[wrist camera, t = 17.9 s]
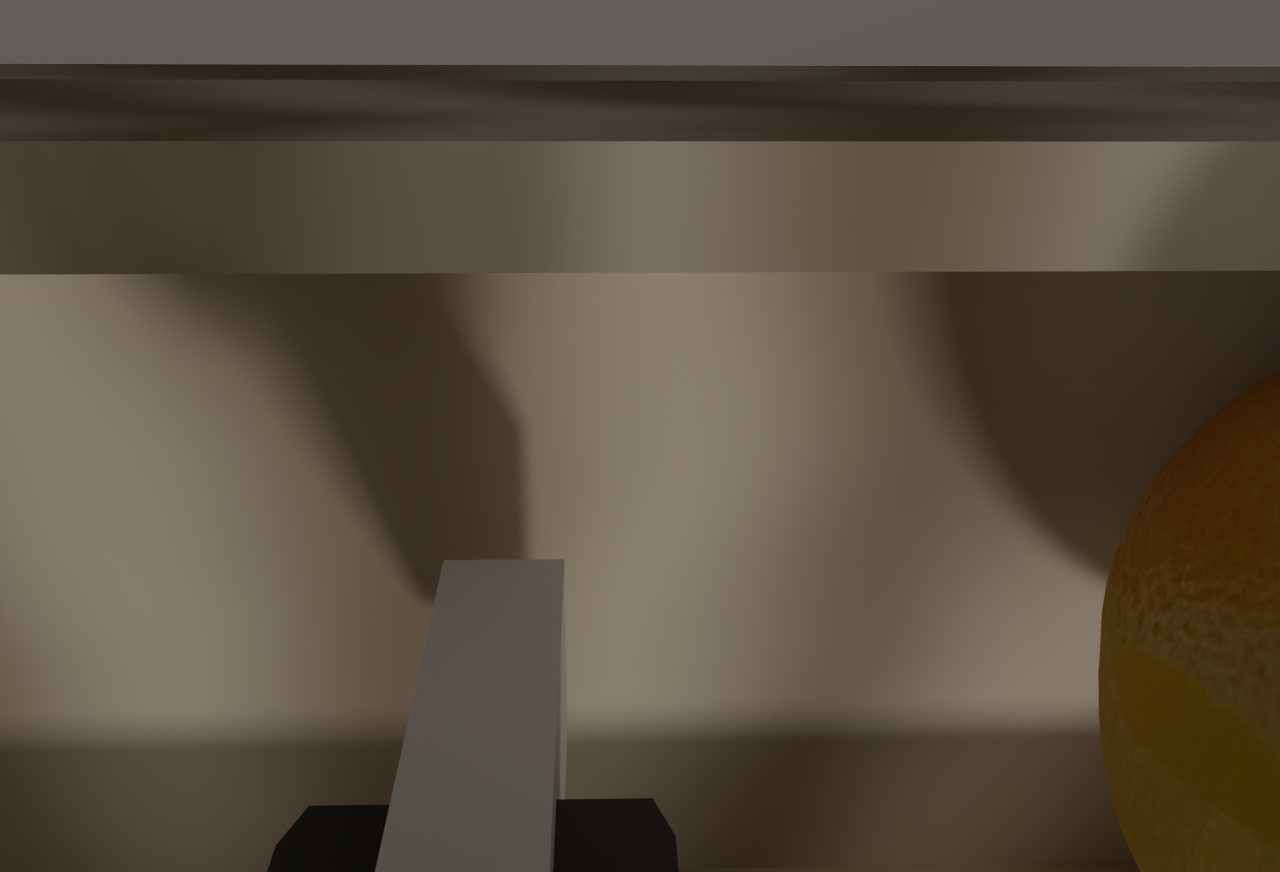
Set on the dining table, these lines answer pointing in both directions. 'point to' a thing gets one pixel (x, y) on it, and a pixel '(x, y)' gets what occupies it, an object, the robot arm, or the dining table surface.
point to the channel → (604, 433)
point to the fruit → (1199, 652)
